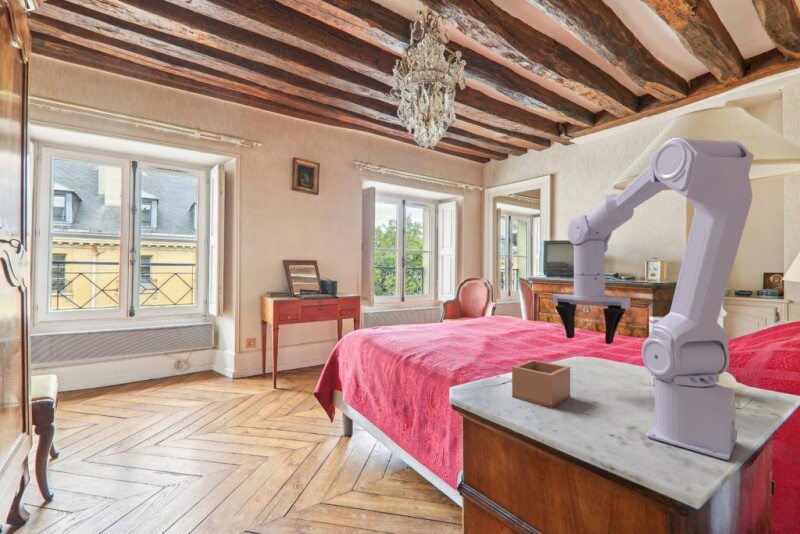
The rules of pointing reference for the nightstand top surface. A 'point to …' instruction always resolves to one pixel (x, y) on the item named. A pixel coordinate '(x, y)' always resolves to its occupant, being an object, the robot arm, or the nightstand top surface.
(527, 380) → the open square bin
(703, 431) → the robot arm
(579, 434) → the nightstand top surface
